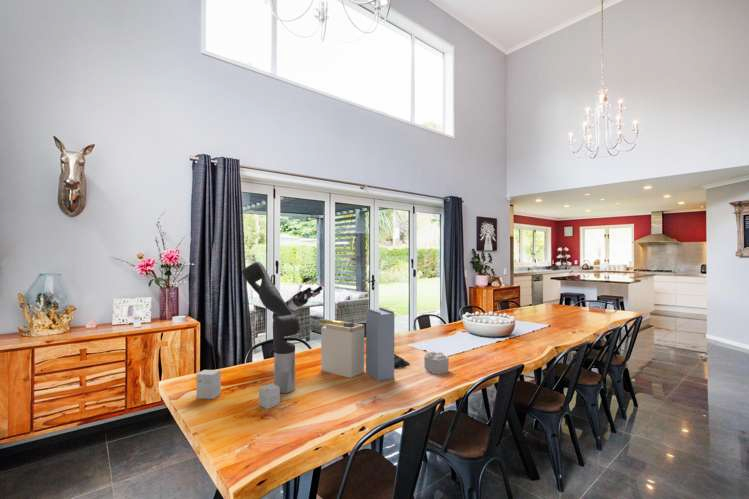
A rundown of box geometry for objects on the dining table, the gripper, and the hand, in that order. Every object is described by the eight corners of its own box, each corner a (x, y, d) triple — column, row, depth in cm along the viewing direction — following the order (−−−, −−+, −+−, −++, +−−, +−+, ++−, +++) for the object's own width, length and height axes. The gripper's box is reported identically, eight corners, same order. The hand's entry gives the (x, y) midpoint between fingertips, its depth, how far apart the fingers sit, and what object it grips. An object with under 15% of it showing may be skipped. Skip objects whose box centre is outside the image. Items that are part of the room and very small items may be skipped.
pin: (353, 328, 183) (353, 322, 183) (348, 330, 179) (348, 323, 179) (322, 323, 195) (322, 317, 195) (316, 325, 191) (317, 319, 191)
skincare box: (271, 400, 147) (271, 382, 147) (280, 404, 144) (280, 386, 144) (258, 405, 143) (258, 387, 143) (267, 409, 139) (267, 390, 139)
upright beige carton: (364, 371, 183) (364, 324, 183) (351, 378, 174) (351, 328, 174) (334, 364, 194) (335, 320, 194) (321, 370, 185) (321, 323, 185)
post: (394, 378, 174) (394, 311, 174) (377, 381, 170) (378, 312, 170) (381, 369, 186) (381, 307, 187) (365, 372, 182) (366, 308, 183)
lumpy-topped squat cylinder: (437, 375, 179) (437, 358, 179) (419, 368, 189) (419, 352, 189) (451, 371, 185) (451, 354, 185) (433, 364, 195) (433, 349, 195)
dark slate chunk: (392, 355, 213) (392, 348, 213) (411, 366, 193) (411, 358, 193) (369, 359, 206) (369, 351, 206) (387, 370, 186) (387, 361, 186)
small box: (221, 394, 154) (221, 370, 154) (213, 399, 148) (214, 374, 148) (203, 393, 154) (203, 369, 154) (195, 398, 149) (196, 373, 149)
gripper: (285, 296, 191) (304, 282, 183) (304, 293, 203) (322, 281, 195) (290, 309, 189) (309, 295, 181) (309, 305, 201) (327, 293, 193)
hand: (316, 288), depth 188 cm, fingers open, 8 cm apart
